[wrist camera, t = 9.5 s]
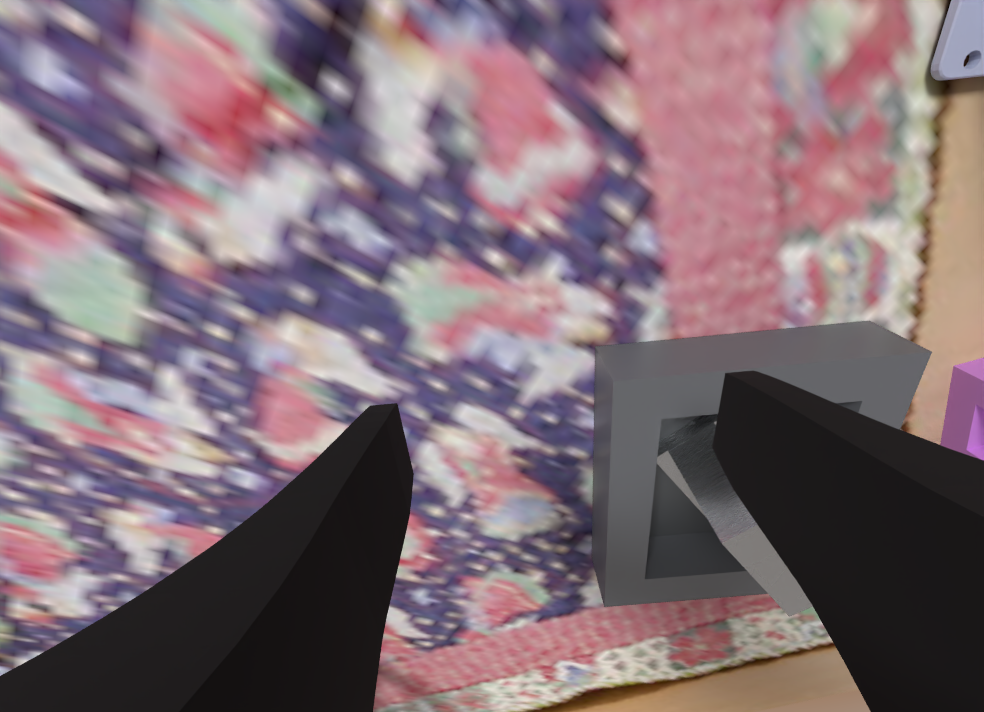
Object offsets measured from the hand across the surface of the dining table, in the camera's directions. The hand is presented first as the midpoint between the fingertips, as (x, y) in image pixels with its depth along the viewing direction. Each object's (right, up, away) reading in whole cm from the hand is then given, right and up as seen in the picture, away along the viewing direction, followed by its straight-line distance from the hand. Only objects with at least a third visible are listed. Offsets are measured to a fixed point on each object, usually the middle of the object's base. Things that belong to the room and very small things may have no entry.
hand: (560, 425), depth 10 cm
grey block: (+10, -4, +12) cm, 16 cm away
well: (+10, -4, +13) cm, 16 cm away
